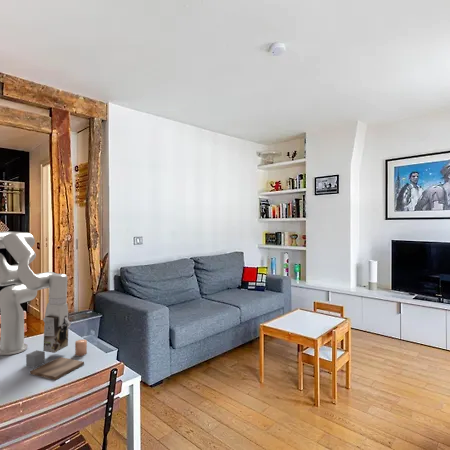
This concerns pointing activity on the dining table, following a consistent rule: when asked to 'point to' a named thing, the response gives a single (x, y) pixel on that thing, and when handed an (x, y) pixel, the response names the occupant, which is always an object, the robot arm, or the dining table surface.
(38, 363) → the grey block
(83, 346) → the terracotta cylinder
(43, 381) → the dining table surface
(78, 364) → the walnut board
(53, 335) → the coffee box
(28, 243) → the robot arm
